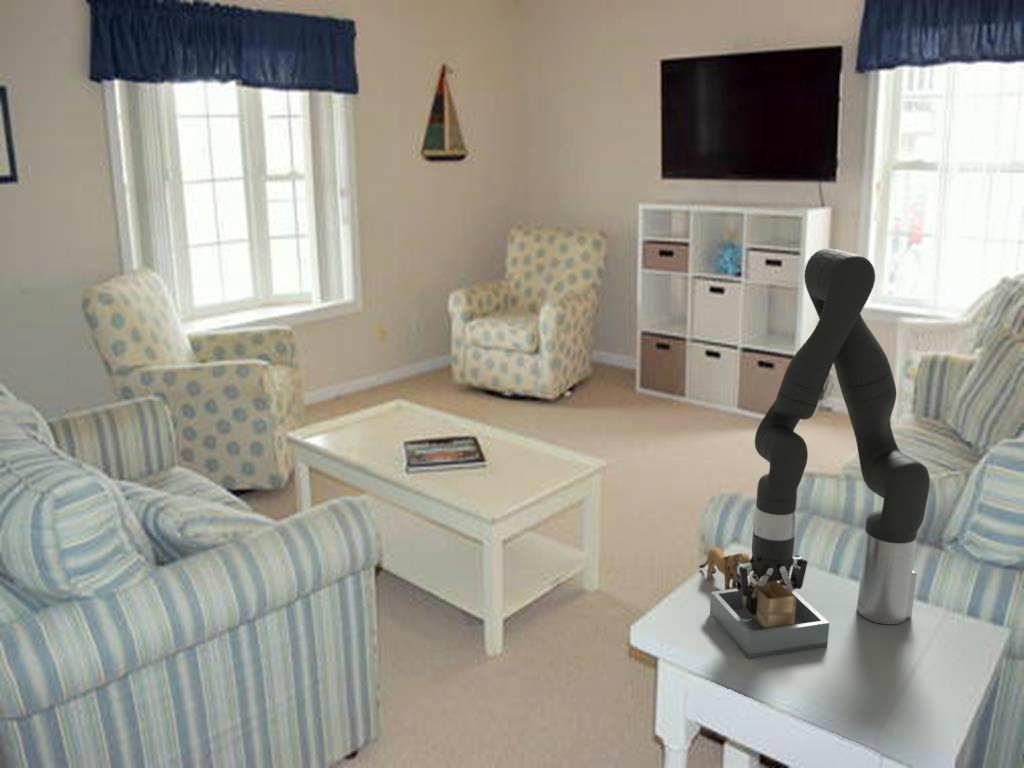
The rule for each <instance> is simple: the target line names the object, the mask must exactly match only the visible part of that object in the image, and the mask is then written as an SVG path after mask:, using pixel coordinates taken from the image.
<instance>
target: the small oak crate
mask: <svg viewBox="0 0 1024 768" xmlns="http://www.w3.org/2000/svg"><path fill="white" fill-rule="evenodd" d="M749 578H750V576H748V583H749V581H750V580H749ZM758 580H760V579H759V578H758ZM753 588H754V587H753ZM757 598H758V599H757V612H756V615H752V614H751V613H750V612H749V611H748V610H747V609H746V597H745V596H743V598H742V606H743V607H744V609H745V610H746V611H747V612H748V613H749V614H750V615H751V616H752V617H753V618H754V619H755V620H756V621H757V622H758V623H759V624H760V625H761V627H762V628H763V629H770V628H777V627H783V626H790V625H794V620H795V609H796V596H795V595H794V594H793V593H792V592H791V591H790V590H788V589H786V588H785V586H784V585H783V584H781V583H780V582H779V581H770V582H766V584H765V586H764V588H762V589H760V591H759V592H758V595H757Z"/></svg>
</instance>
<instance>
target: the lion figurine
mask: <svg viewBox="0 0 1024 768" xmlns="http://www.w3.org/2000/svg"><path fill="white" fill-rule="evenodd" d="M749 555H750V554H748V553H746V552H744V553H742V552H741V553H740V552H739V553H736V554H732V555H731V554H730V555H726V554H724V552H723V550H722V549H721V548H719V547H711V548H710V550H708V553H707V559H706V561H705V562H704V563H703V564H701V565H698V568H700V569H703V568H705V567H706V566H707V570H706V574H707V575H706V579H707V581H712V580H713V576H712V575H711V572H713V573H715V572H717V570H718V572H720V573H721V574H722V575H723V577H724V590H729V589H731V587H732V589H736V588H737V584H736V571H735V564H736V563H738V562H739V563H741V564H745V563H749V562H750V560H751V558H750V556H749ZM752 572H753V570H752V569H751V570H750V572H749V574H750V575H751V573H752ZM731 581H732V582H731ZM730 584H731V586H730Z"/></svg>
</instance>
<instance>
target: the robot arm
mask: <svg viewBox="0 0 1024 768" xmlns="http://www.w3.org/2000/svg"><path fill="white" fill-rule="evenodd" d="M875 282H876V271H875V268H874V266H873V263H871V261H870V260H869V259H868V258H867V257H865V256H862V255H860V254H857V253H853V252H849V251H845V250H841V249H837V248H822V249H820V250H817V251H816V252H814V253H813V254H812V255H811V256H810V258H809V259H808V261H807V263H806V265H805V268H804V284H805V287H806V291H807V293H808V295H809V299H810V301H811V303H812V304H813V307H814V310H815V311H816V314H817V316H818V318H819V320H818V321H817V325H816V326H815V328H814V329H813V331H812V333H811V334H810V336H809V337H808V338H807V340H806V341H805V342H804V343H803V344H802V346H801V347H800V348H799V349H798V350H797V352H796V353H795V354H794V355H793V357H792V358H791V360H790V362H789V363H788V366H787V367H786V368H785V369H786V370H785V372H784V374H783V378H782V381H781V383H780V387H779V389H778V391H777V392H778V393H777V394H776V399H775V400H774V402H773V403H772V404H771V406H770V407H769V409H768V410H767V412H766V413H765V415H764V417H763V418H762V419H761V421H760V423H759V425H758V427H757V429H756V431H755V437H754V447H755V450H756V451H757V454H758V455H759V456H760V457H761V458H763V459H764V460H766V461H767V462H768V463H769V471H768V473H767V474H763V475H762V476H761V477H760V478H759V480H758V483H757V490H756V491H757V492H756V501H755V502H756V504H755V510H754V513H753V515H754V516H753V527H752V541H751V554H752V555H751V558H750V559H751V560H750V562H749V563H745V564H741V563H739V562H738V563H736V564H735V571H736V585H737V590H738V591H740V592H741V594H742V595H743V596H745V597H746V609H747V610H748V611H749V612H750V613H751V614H752V615H756V612H757V599H758V598H757V595H758V592H759V591H760V589H762V588H764V586H765V584H766V582H770V581H779V582H780V583H781V584H783V585H784V586H785V588H786V589H788V590H790V591H791V592H793V590H794V591H796V589H797V590H801V589H802V588H803V584H804V580H805V575H806V570H807V566H808V561H807V560H806V558H804V557H803V556H801V555H800V554H797V555H795V556H794V550H795V539H796V538H795V537H796V528H797V525H796V524H797V515H796V514H797V513H796V510H797V509H796V508H797V500H798V499H797V498H798V495H797V494H798V489H799V485H800V484H801V480H802V478H803V475H804V473H805V469H806V466H807V464H808V459H809V458H808V457H809V456H808V454H809V453H808V452H809V451H808V445H807V443H806V441H805V440H804V438H803V437H802V436H801V435H799V434H798V433H796V432H795V431H794V430H795V428H796V427H797V425H798V424H799V422H800V420H805V421H806V420H809V419H810V418H812V417H813V415H814V413H815V411H816V409H817V406H818V404H819V401H820V398H821V395H822V393H823V390H824V388H825V385H826V382H827V379H828V376H829V374H830V372H831V369H832V368H833V367H832V366H834V370H835V373H836V377H837V382H838V385H839V388H840V392H841V395H842V398H843V400H844V404H845V406H846V409H847V413H848V417H849V421H850V423H851V426H852V431H853V433H854V436H855V441H856V447H857V452H858V460H859V465H860V471H861V475H862V479H863V481H864V483H865V485H866V487H867V488H868V490H870V491H872V492H873V493H874V494H876V495H878V497H880V498H882V499H883V504H882V509H881V510H877V511H874V512H872V513H869V514H868V515H867V517H866V520H865V528H864V529H865V531H864V540H863V550H862V558H861V566H860V567H861V568H860V576H859V588H858V593H857V604H856V610H857V612H858V614H859V615H860V616H862V617H863V618H865V619H867V620H869V621H871V622H874V623H878V624H883V625H898V624H901V623H903V622H904V621H906V619H908V618H912V617H913V616H912V615H913V607H914V600H915V590H916V583H917V582H916V581H917V575H918V574H917V572H916V571H915V570H914V562H915V553H916V546H917V539H918V538H917V537H918V532H919V530H920V527H921V526H922V524H923V521H924V518H925V514H926V508H927V503H928V497H929V493H930V481H931V479H930V474H929V471H928V468H927V467H926V466H925V465H924V464H923V463H922V462H920V461H919V460H917V459H915V458H913V457H911V456H909V455H907V454H905V453H903V452H902V451H901V450H900V449H899V446H898V444H897V442H896V440H895V437H894V433H893V430H892V425H891V417H892V415H893V411H894V408H895V404H896V399H897V386H896V382H895V378H894V375H893V374H894V373H893V371H892V367H891V364H890V362H889V359H888V357H887V355H886V353H885V351H884V349H883V347H882V346H881V344H880V343H879V341H878V340H877V338H876V336H875V335H874V333H873V332H872V330H870V328H869V327H868V325H867V323H866V322H865V321H864V318H863V317H862V314H861V313H862V311H863V309H864V307H865V305H866V303H867V301H868V300H869V297H870V296H871V293H872V291H873V289H874V285H875ZM790 568H792V569H791V570H792V571H791V572H790V576H788V573H787V572H788V570H789V569H790ZM751 569H752V570H753V571H751V572H750V570H751ZM749 572H750V574H749ZM748 577H750V578H749V580H750V581H749V583H748ZM758 578H759V579H760V580H758ZM753 587H754V588H753Z"/></svg>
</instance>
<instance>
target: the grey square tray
mask: <svg viewBox="0 0 1024 768" xmlns="http://www.w3.org/2000/svg"><path fill="white" fill-rule="evenodd" d="M792 593H793V594H794V595H795V596H796V609H795V620H794V625H790V626H783V627H777V628H770V629H763V628H762V627H761V625H760V624H759V623H758V622H757V621H756V620H755V619H754V618H753V617H752V616H751V615H750V614H749V613H748V612H747V611H746V610H745V609H744V607H743V606H742V598H743V595H742V594H741V592H740V591H738V590H737V588H736V589H734V588H730V589H729V590H725V589H724V590H715V591H711V592H710V603H709V605H710V608H709V615H710V617H711V618H712V619H713V620H714V621H715V622H716V623H717V625H718V626H719V627H720V628H721V629H722V631H724V633H725V634H726V635H727V636H728V638H729V639H730V640H731V641H732V642H733V643H734V644H735V645H736V647H737V646H738V647H737V648H738V649H739V650H740V651H741V652H742V654H743V653H744V654H745V655H744V654H743V655H744V656H745V657H746V658H747V659H748V660H752V659H757V658H763V657H764V658H765V657H770V656H775V655H777V656H778V655H782V654H788V653H795V652H803V651H808V650H815V649H820V648H827V647H828V641H829V633H830V632H829V631H830V622H829V621H828V620H827V619H826V618H825V617H824V616H823V615H822V614H820V613H819V611H817V610H816V609H815V607H813V606H812V605H811V604H810V603H809V602H807V600H805V599H804V598H803V597H802V596H801V595H799V593H798V592H797V591H796V590H793V592H792Z"/></svg>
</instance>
